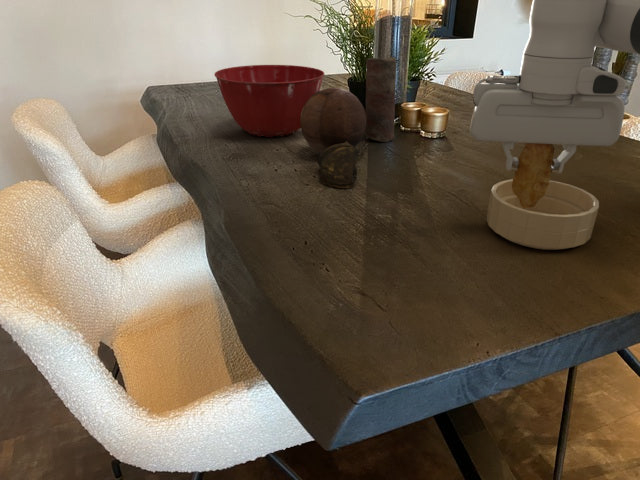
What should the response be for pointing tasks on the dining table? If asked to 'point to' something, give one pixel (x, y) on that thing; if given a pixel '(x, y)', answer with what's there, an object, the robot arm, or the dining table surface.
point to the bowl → (543, 216)
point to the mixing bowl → (268, 96)
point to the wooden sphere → (332, 119)
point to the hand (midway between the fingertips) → (533, 170)
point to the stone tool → (533, 173)
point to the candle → (380, 98)
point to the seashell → (338, 165)
